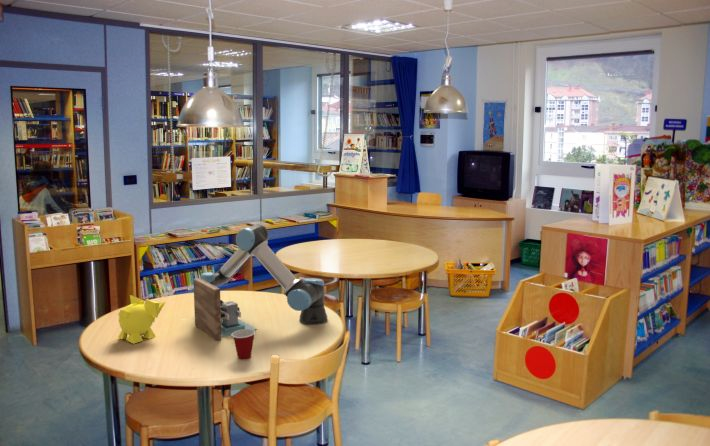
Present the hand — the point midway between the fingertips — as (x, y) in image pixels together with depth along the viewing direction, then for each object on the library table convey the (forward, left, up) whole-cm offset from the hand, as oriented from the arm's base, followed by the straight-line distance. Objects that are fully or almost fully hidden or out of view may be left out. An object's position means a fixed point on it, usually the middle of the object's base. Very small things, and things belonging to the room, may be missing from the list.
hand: (234, 316), depth 315 cm
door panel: (+8, +11, -8) cm, 16 cm away
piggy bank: (+30, +36, -8) cm, 48 cm away
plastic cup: (-31, +21, -8) cm, 38 cm away
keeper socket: (+5, -1, -8) cm, 9 cm away
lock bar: (+5, -1, -6) cm, 8 cm away
